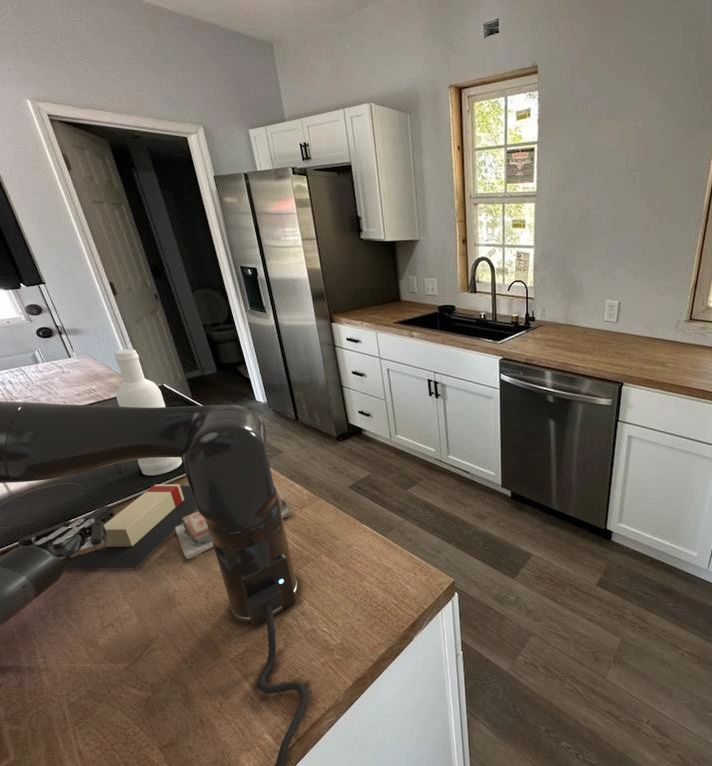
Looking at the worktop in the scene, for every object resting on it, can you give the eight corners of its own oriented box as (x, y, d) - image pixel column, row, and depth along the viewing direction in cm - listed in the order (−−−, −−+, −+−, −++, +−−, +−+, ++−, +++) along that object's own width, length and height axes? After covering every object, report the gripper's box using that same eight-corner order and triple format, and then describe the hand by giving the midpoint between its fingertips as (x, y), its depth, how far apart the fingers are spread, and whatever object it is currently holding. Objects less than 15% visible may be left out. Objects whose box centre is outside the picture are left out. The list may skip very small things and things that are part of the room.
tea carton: (125, 529, 75) (179, 483, 88) (96, 529, 75) (155, 484, 88) (132, 546, 77) (184, 499, 90) (104, 547, 76) (160, 499, 89)
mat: (136, 568, 72) (135, 567, 72) (52, 569, 72) (52, 568, 72) (220, 487, 95) (220, 486, 95) (157, 487, 94) (157, 486, 94)
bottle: (188, 456, 106) (155, 345, 95) (174, 473, 99) (136, 355, 88) (151, 460, 104) (113, 347, 93) (134, 478, 97) (91, 357, 86)
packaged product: (271, 477, 91) (288, 497, 84) (275, 495, 93) (292, 516, 86) (169, 513, 79) (179, 540, 72) (176, 533, 81) (186, 561, 74)
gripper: (42, 568, 58) (141, 492, 74) (-58, 569, 57) (63, 492, 73) (62, 607, 60) (153, 526, 76) (-34, 608, 60) (78, 526, 76)
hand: (109, 510), depth 75 cm, fingers closed
